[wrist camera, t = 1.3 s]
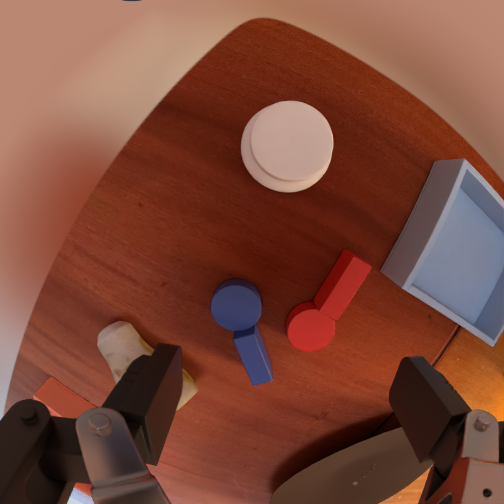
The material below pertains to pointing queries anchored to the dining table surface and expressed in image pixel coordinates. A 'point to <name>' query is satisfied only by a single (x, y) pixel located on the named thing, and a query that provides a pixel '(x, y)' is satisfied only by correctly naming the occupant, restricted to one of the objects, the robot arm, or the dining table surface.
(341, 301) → the red bar with cylinder
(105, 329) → the white ceramic cup shape
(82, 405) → the coral bin
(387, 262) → the blue bin
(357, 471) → the plate
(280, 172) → the pill bottle
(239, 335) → the blue spoon
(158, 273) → the dining table surface
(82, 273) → the dining table surface
